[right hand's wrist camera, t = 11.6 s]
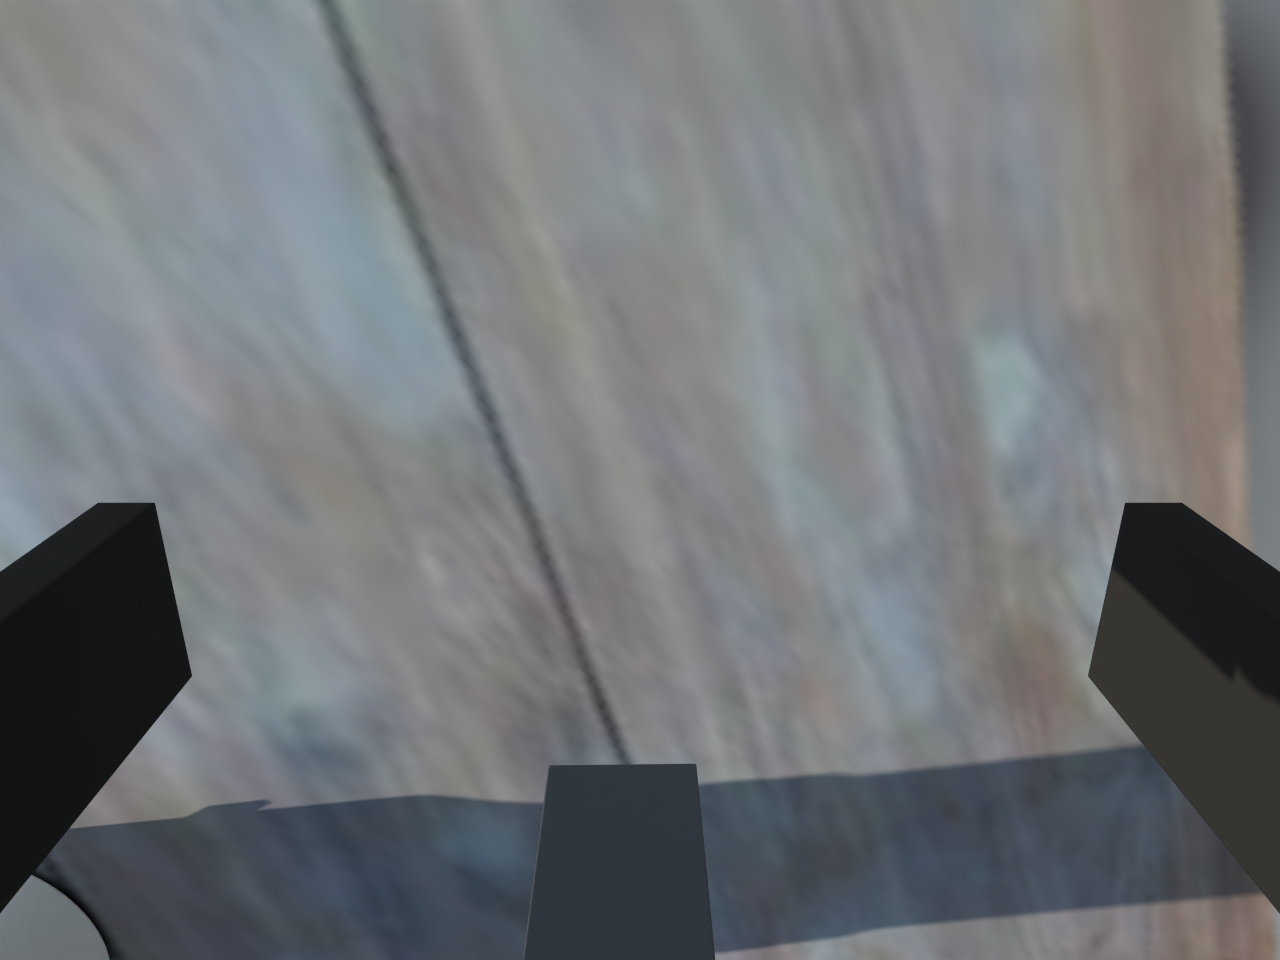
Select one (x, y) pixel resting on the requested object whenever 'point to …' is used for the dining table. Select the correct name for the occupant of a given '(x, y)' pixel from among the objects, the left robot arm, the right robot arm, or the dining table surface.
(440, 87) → the dining table surface
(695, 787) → the bar
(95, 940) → the left robot arm
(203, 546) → the dining table surface
